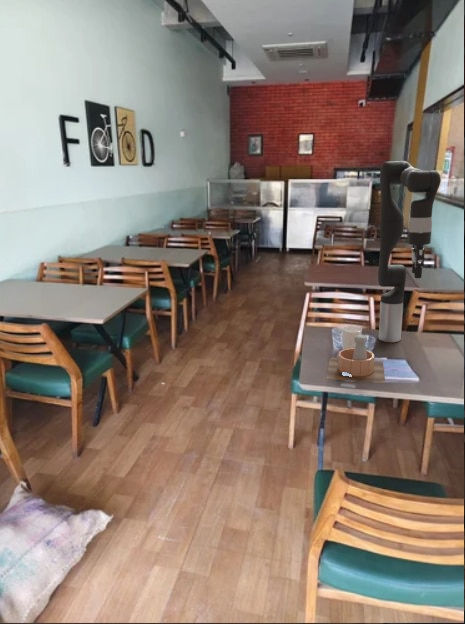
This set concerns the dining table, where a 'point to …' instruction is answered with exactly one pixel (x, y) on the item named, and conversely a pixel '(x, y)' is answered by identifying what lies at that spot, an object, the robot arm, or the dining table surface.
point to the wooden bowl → (355, 363)
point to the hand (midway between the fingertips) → (416, 275)
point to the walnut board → (374, 377)
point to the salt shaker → (360, 348)
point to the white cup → (350, 336)
